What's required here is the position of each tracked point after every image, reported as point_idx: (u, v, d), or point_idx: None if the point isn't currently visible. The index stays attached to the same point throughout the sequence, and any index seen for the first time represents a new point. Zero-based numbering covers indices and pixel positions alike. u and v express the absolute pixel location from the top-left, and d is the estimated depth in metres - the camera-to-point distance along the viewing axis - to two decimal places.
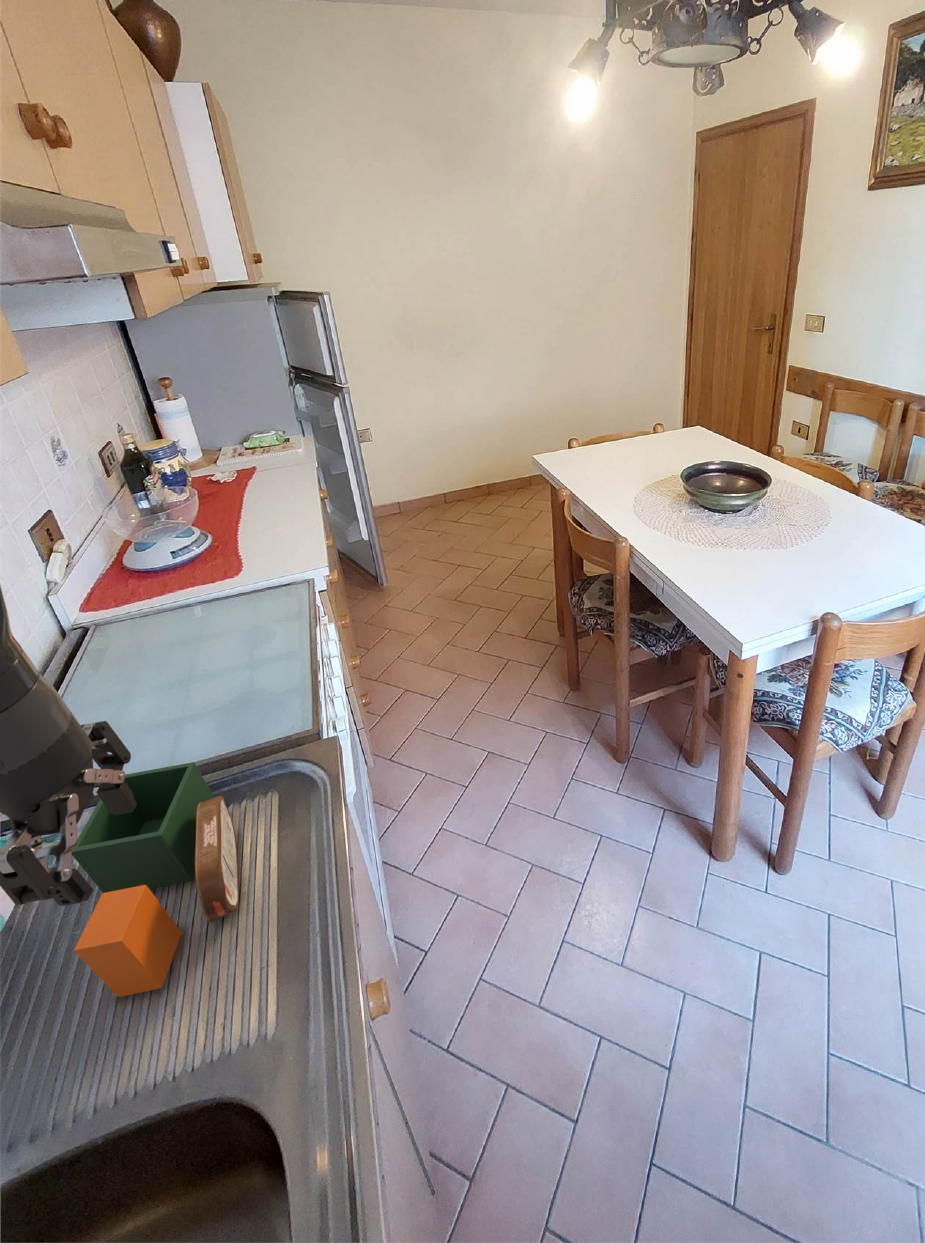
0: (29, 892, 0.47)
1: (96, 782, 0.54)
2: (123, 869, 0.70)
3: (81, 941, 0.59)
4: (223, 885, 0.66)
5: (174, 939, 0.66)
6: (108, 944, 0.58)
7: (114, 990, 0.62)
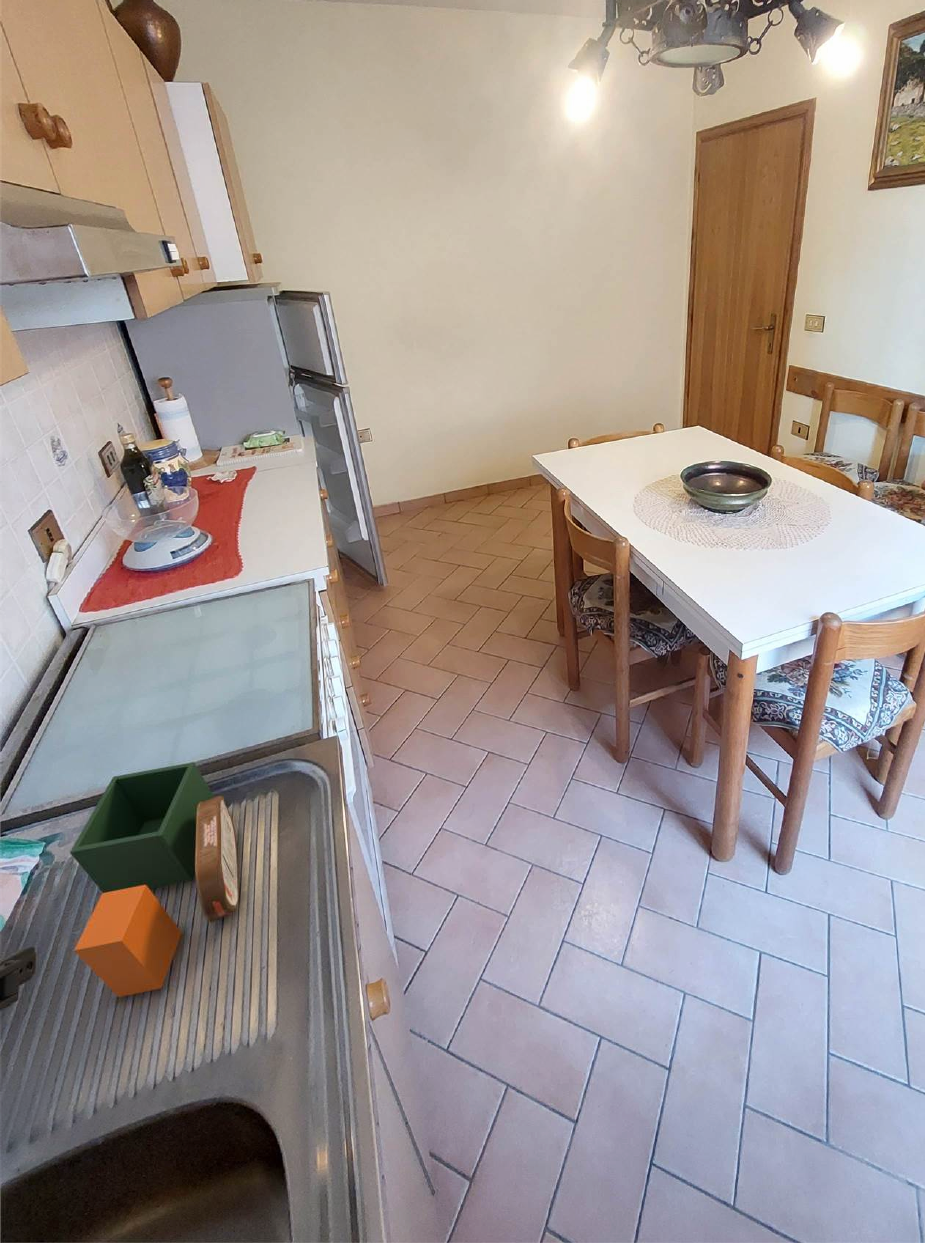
0: None
1: None
2: (123, 869, 0.70)
3: (81, 941, 0.59)
4: (223, 885, 0.66)
5: (174, 939, 0.66)
6: (108, 944, 0.58)
7: (114, 990, 0.62)
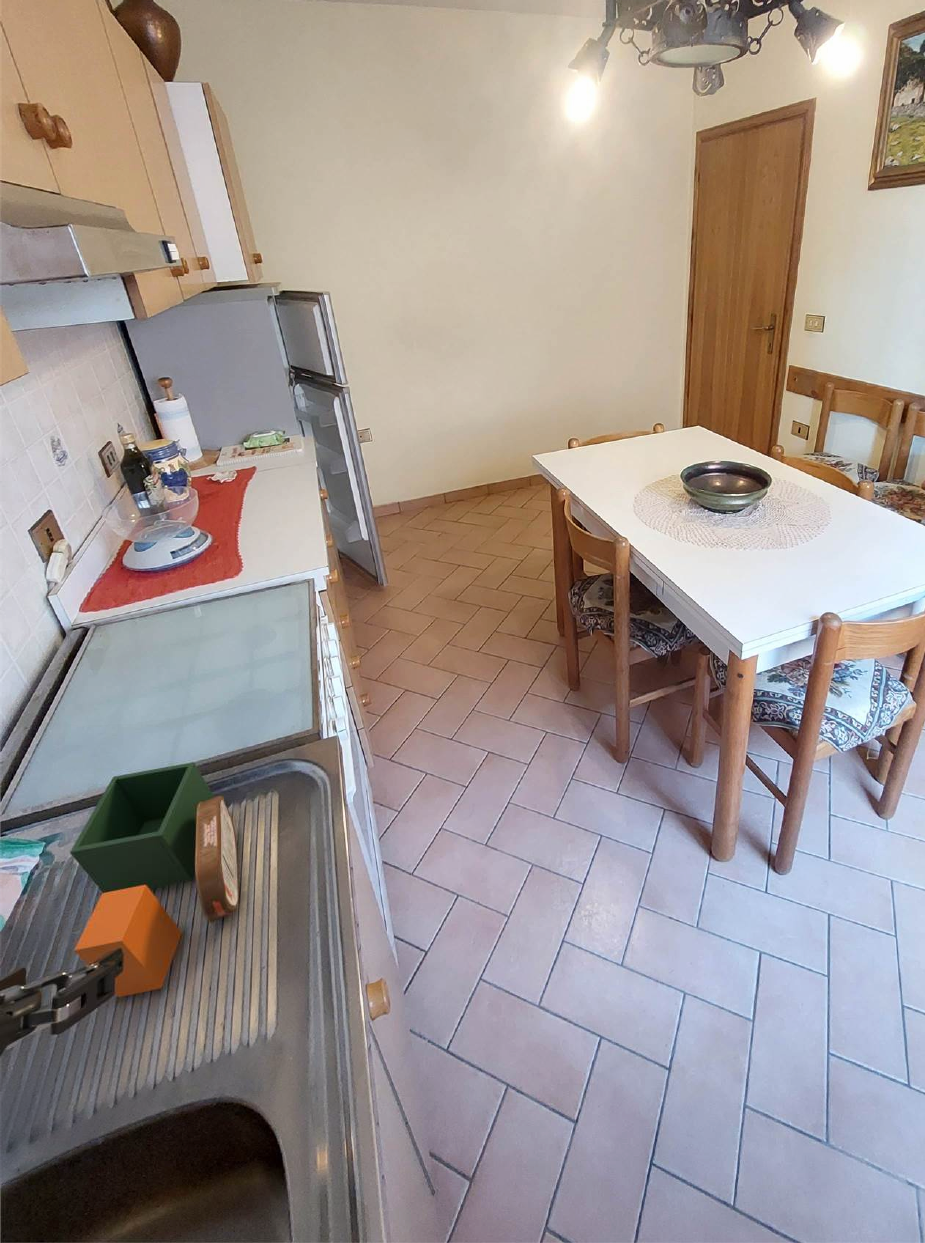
0: None
1: None
2: (123, 869, 0.70)
3: (81, 941, 0.59)
4: (223, 885, 0.66)
5: (174, 939, 0.66)
6: (108, 944, 0.58)
7: None
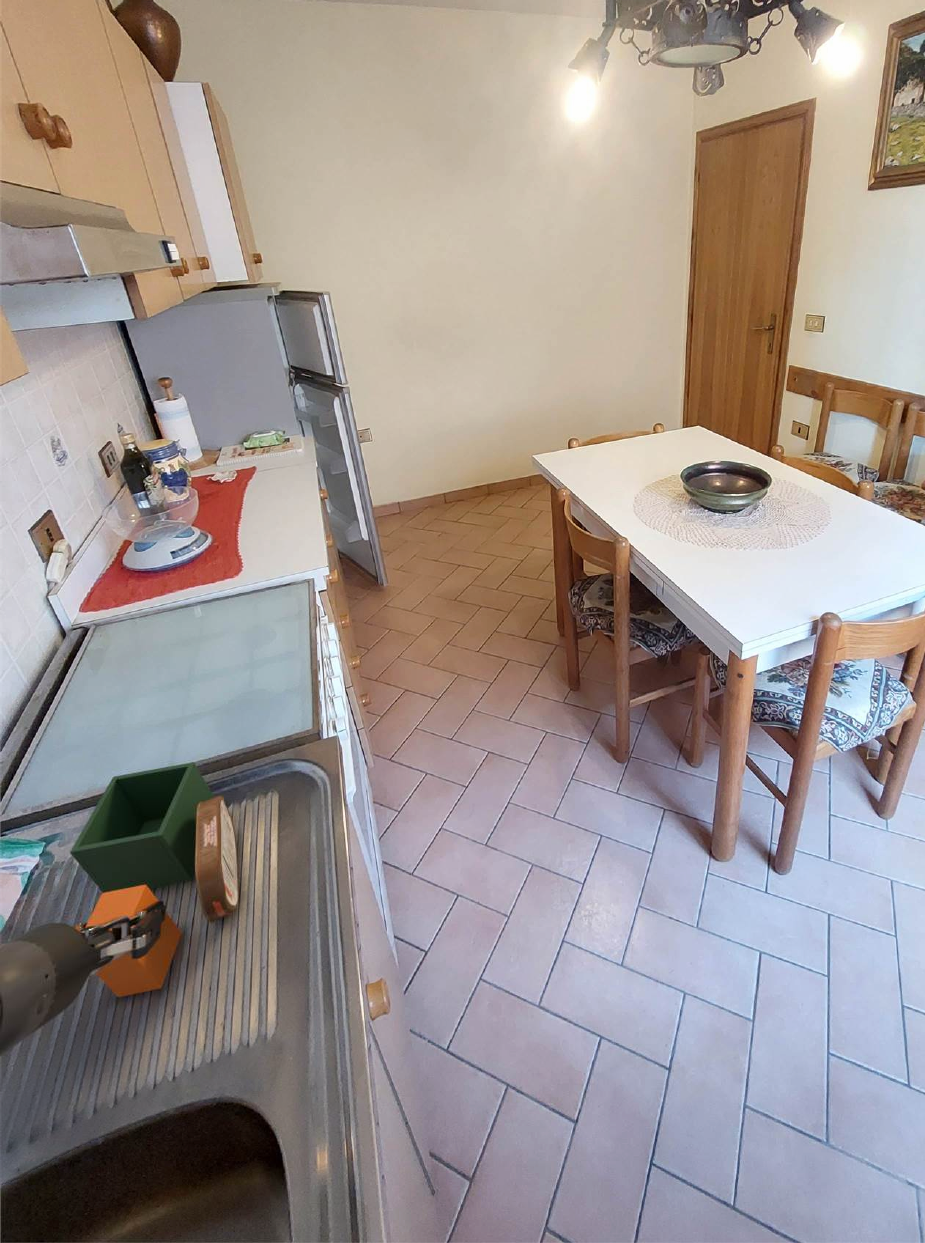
0: None
1: None
2: (123, 869, 0.70)
3: None
4: (223, 885, 0.66)
5: (174, 939, 0.66)
6: None
7: (114, 989, 0.62)
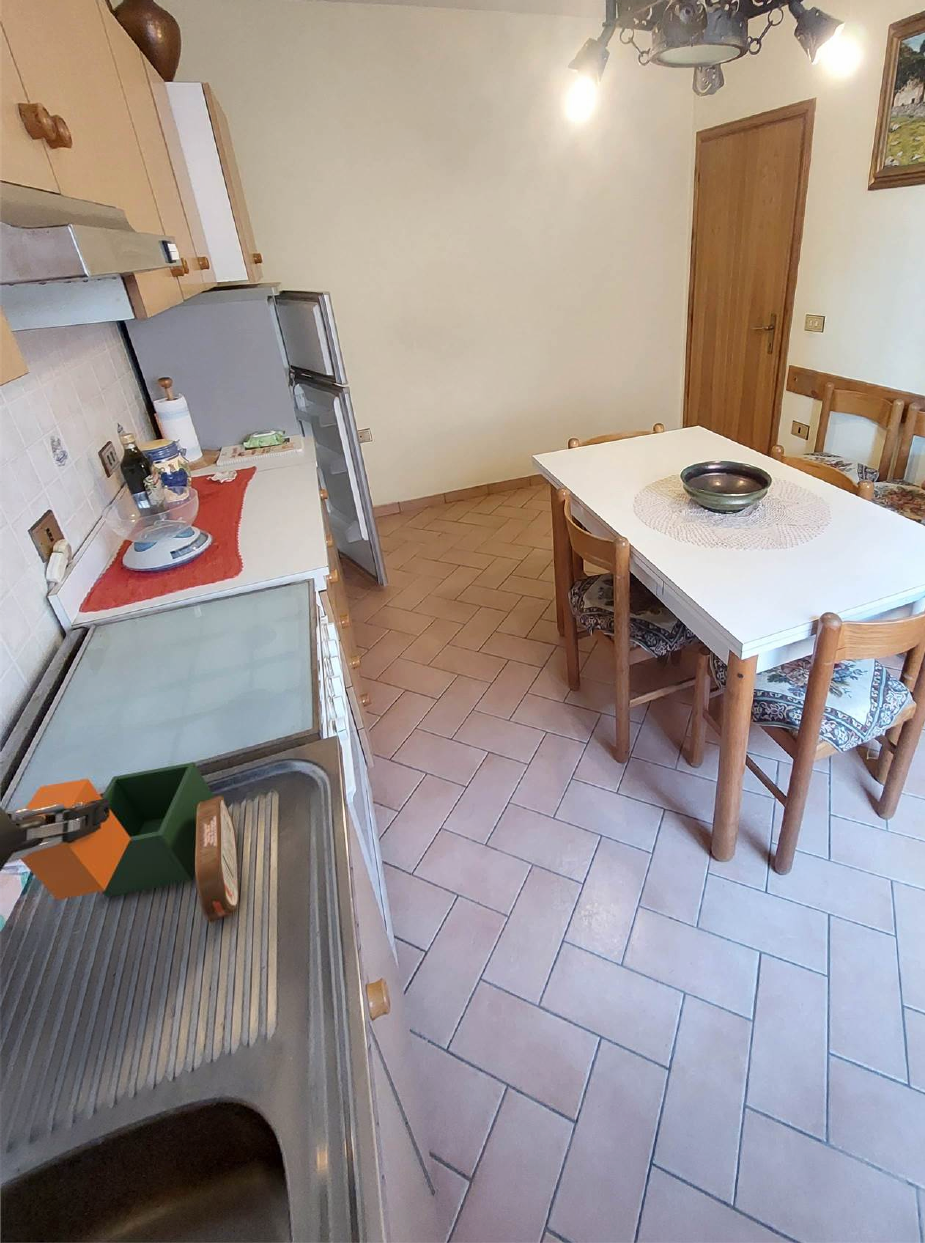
0: None
1: None
2: (123, 869, 0.70)
3: None
4: (223, 885, 0.66)
5: (121, 843, 0.61)
6: None
7: (51, 890, 0.57)
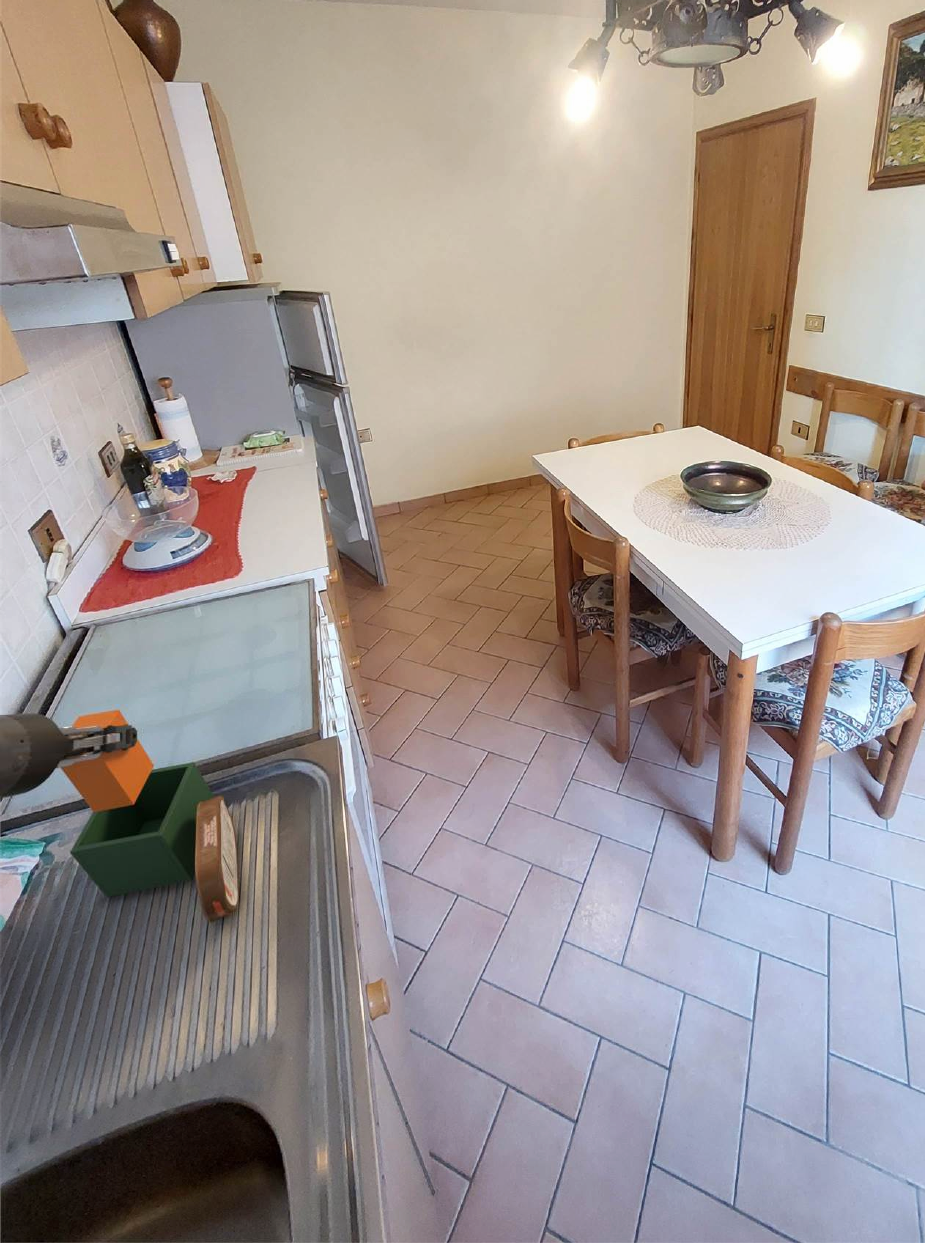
0: None
1: None
2: (123, 869, 0.70)
3: None
4: (223, 885, 0.66)
5: (146, 768, 0.72)
6: None
7: (89, 803, 0.68)
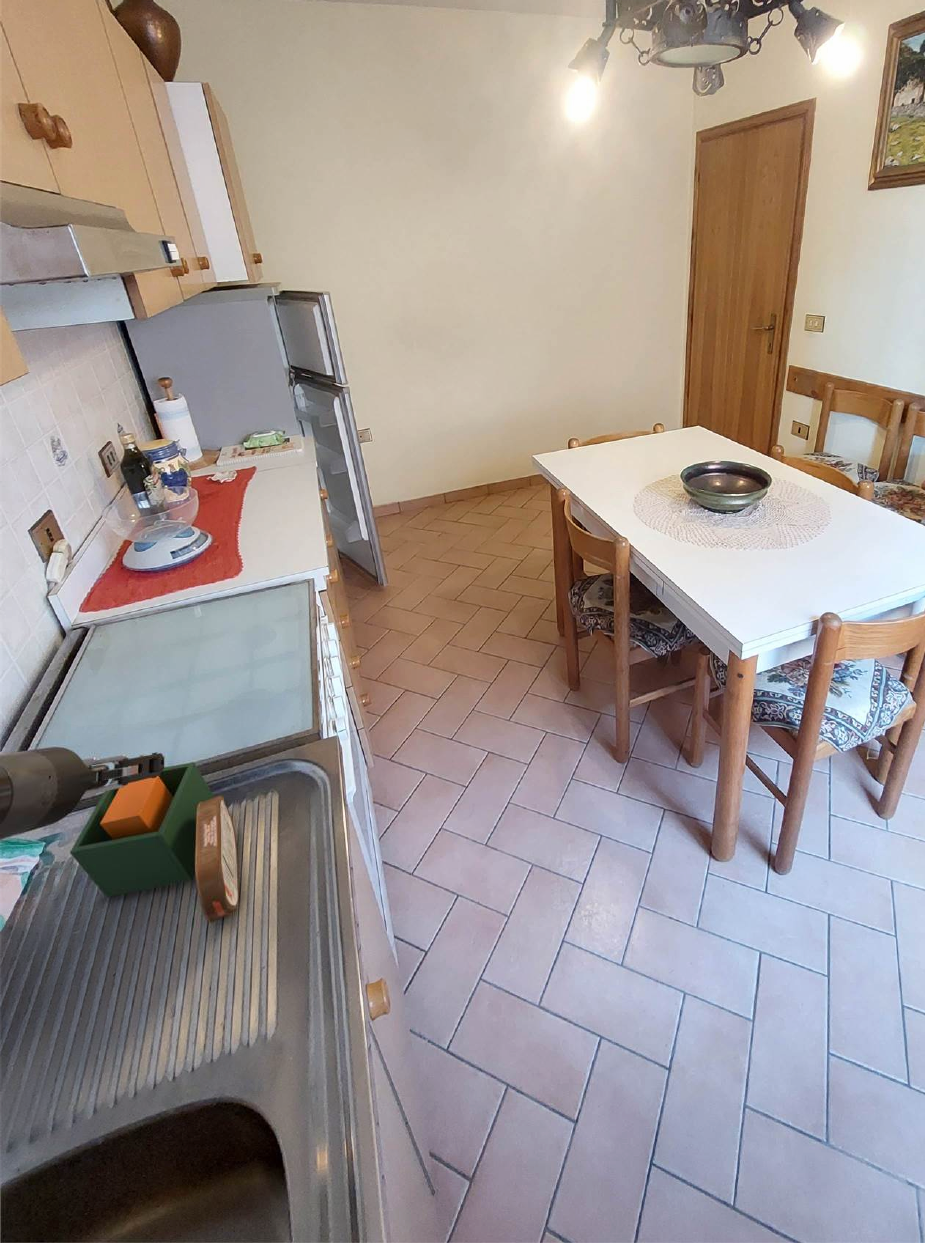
0: None
1: None
2: (123, 869, 0.70)
3: (106, 817, 0.70)
4: (223, 885, 0.66)
5: None
6: (128, 818, 0.70)
7: None
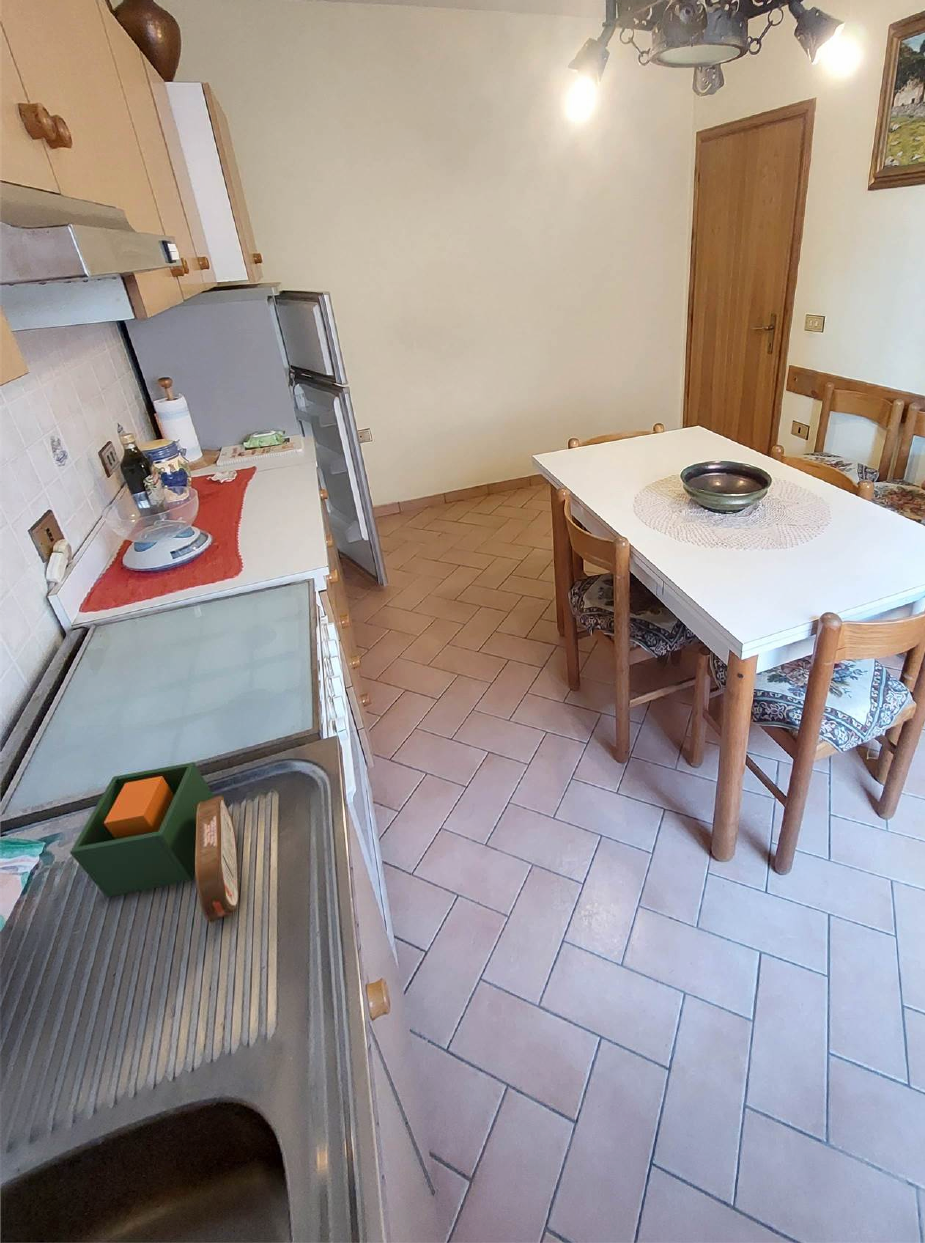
0: None
1: None
2: (123, 869, 0.70)
3: (109, 816, 0.70)
4: (223, 885, 0.66)
5: None
6: (132, 818, 0.70)
7: None
